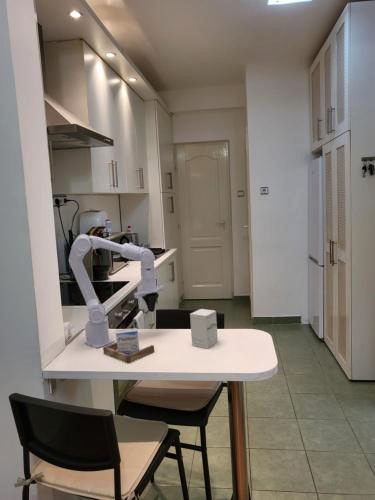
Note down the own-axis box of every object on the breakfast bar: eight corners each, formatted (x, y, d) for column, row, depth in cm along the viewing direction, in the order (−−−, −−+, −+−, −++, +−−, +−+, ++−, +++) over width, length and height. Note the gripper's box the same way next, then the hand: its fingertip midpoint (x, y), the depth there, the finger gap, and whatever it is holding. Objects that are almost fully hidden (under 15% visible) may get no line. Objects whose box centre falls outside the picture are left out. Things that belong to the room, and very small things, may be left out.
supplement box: (207, 349, 151) (205, 316, 149) (191, 345, 155) (189, 313, 154) (218, 342, 157) (216, 310, 155) (202, 339, 161) (200, 308, 159)
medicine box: (118, 356, 151) (115, 333, 149) (118, 351, 155) (115, 329, 154) (139, 353, 152) (137, 331, 150) (139, 349, 156) (137, 327, 155)
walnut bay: (103, 353, 154) (103, 347, 154) (129, 343, 162) (128, 337, 162) (128, 363, 143) (127, 356, 143) (154, 352, 152) (153, 345, 151)
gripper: (140, 283, 158) (144, 317, 160) (168, 276, 168) (171, 308, 170) (129, 281, 163) (132, 314, 165) (157, 274, 173) (159, 305, 175)
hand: (151, 311), depth 168 cm, fingers closed
